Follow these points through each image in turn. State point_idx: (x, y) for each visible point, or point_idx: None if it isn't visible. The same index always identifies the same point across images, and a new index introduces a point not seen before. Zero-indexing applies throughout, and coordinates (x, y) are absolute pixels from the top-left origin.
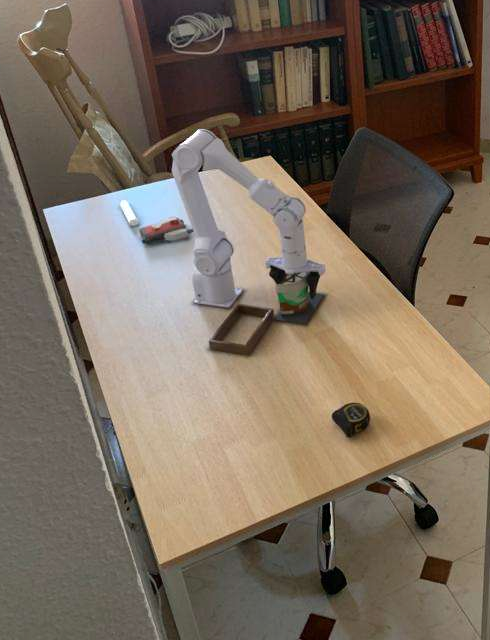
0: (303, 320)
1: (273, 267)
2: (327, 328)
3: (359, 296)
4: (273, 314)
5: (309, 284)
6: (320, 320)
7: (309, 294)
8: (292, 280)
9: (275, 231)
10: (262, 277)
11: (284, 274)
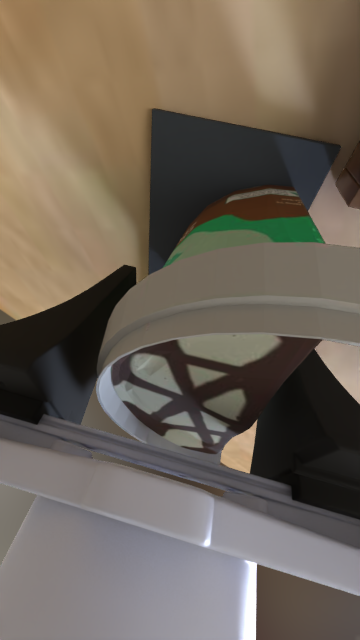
0: (171, 147)
1: (356, 513)
2: (34, 83)
3: (55, 299)
4: (346, 181)
5: (67, 323)
6: (100, 163)
7: None
8: (190, 370)
9: None
10: None
11: (264, 412)
